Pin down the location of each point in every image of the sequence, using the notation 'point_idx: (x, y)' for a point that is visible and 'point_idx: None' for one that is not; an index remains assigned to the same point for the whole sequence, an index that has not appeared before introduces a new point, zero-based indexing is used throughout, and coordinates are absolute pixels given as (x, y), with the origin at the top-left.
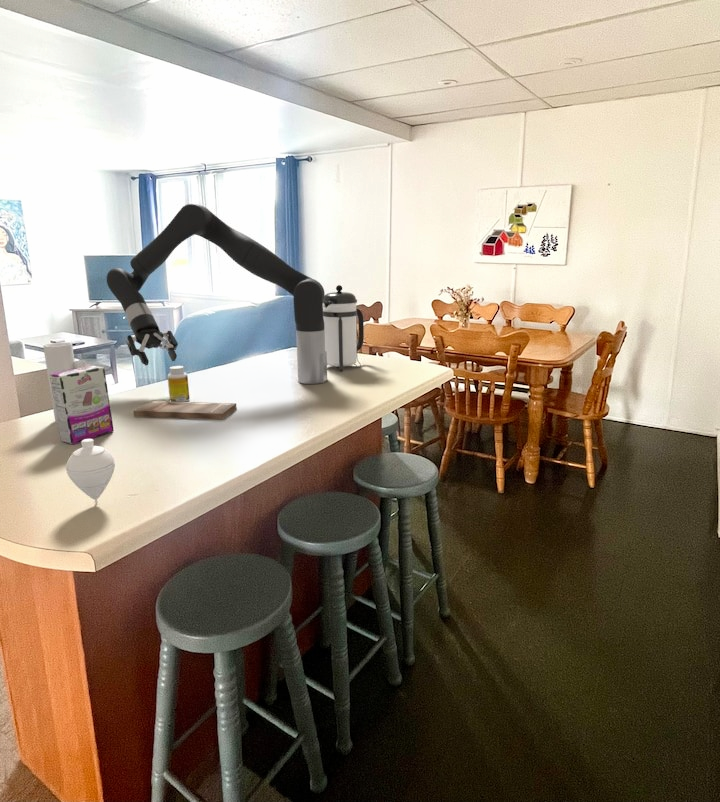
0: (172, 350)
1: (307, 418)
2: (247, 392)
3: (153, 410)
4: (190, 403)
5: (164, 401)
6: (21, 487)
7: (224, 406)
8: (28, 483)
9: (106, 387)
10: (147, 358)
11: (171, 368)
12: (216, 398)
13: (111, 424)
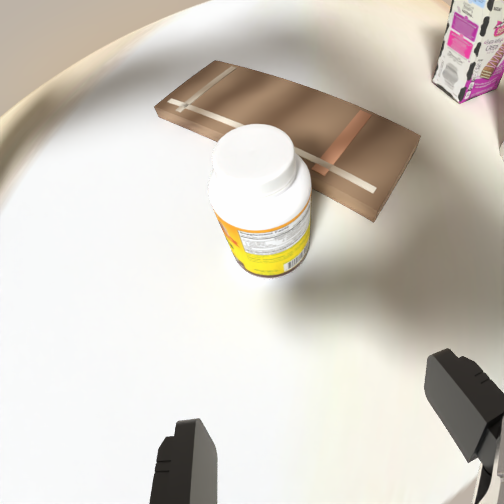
0: (171, 483)
1: (108, 64)
2: (53, 256)
3: (366, 112)
4: None
5: (334, 184)
6: None
7: (188, 93)
8: None
9: (451, 5)
10: (445, 369)
11: (286, 135)
12: (148, 227)
13: (436, 69)
